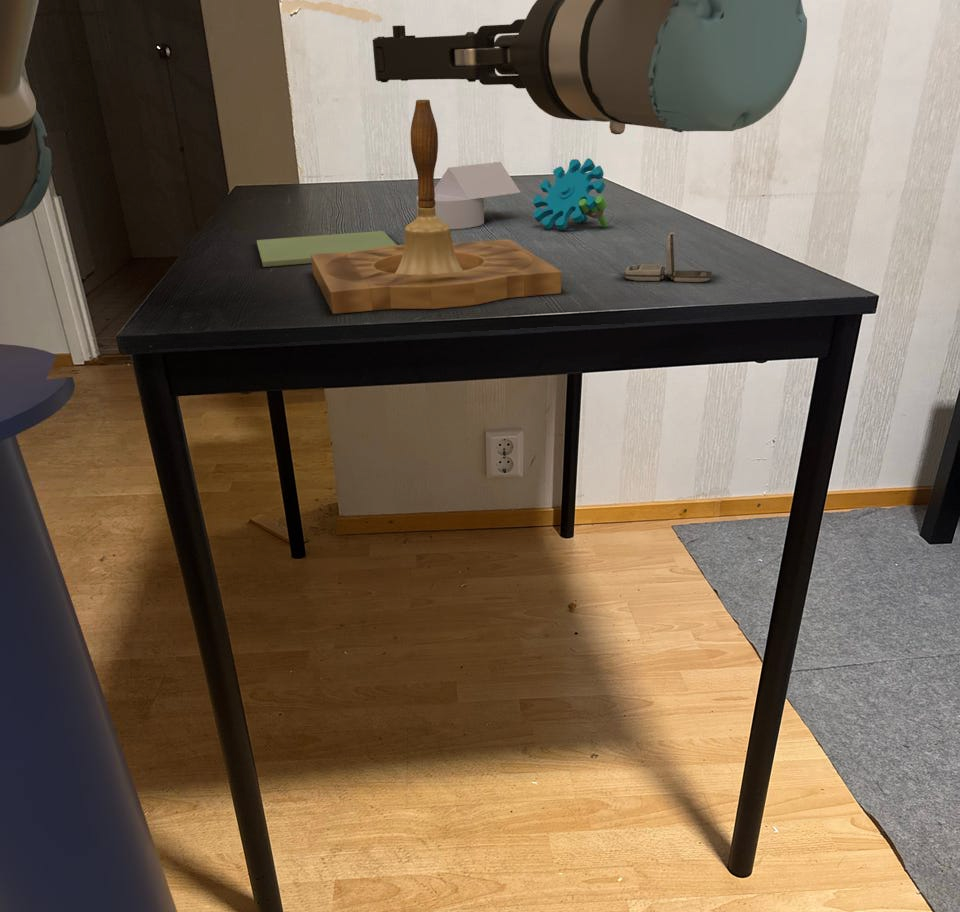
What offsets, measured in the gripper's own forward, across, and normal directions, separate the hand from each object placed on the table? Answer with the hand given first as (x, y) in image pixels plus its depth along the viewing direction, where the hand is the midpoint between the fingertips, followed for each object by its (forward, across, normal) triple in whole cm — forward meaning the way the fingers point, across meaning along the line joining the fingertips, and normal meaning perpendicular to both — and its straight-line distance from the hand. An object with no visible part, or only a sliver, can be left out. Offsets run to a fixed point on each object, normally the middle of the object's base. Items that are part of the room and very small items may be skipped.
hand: (461, 55), depth 71 cm
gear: (+30, +28, -20) cm, 46 cm away
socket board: (+10, 0, -19) cm, 22 cm away
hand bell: (+10, 0, -20) cm, 22 cm away
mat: (+33, -4, -19) cm, 38 cm away
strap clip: (-1, +21, -20) cm, 29 cm away
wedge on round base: (+42, +18, -20) cm, 50 cm away
